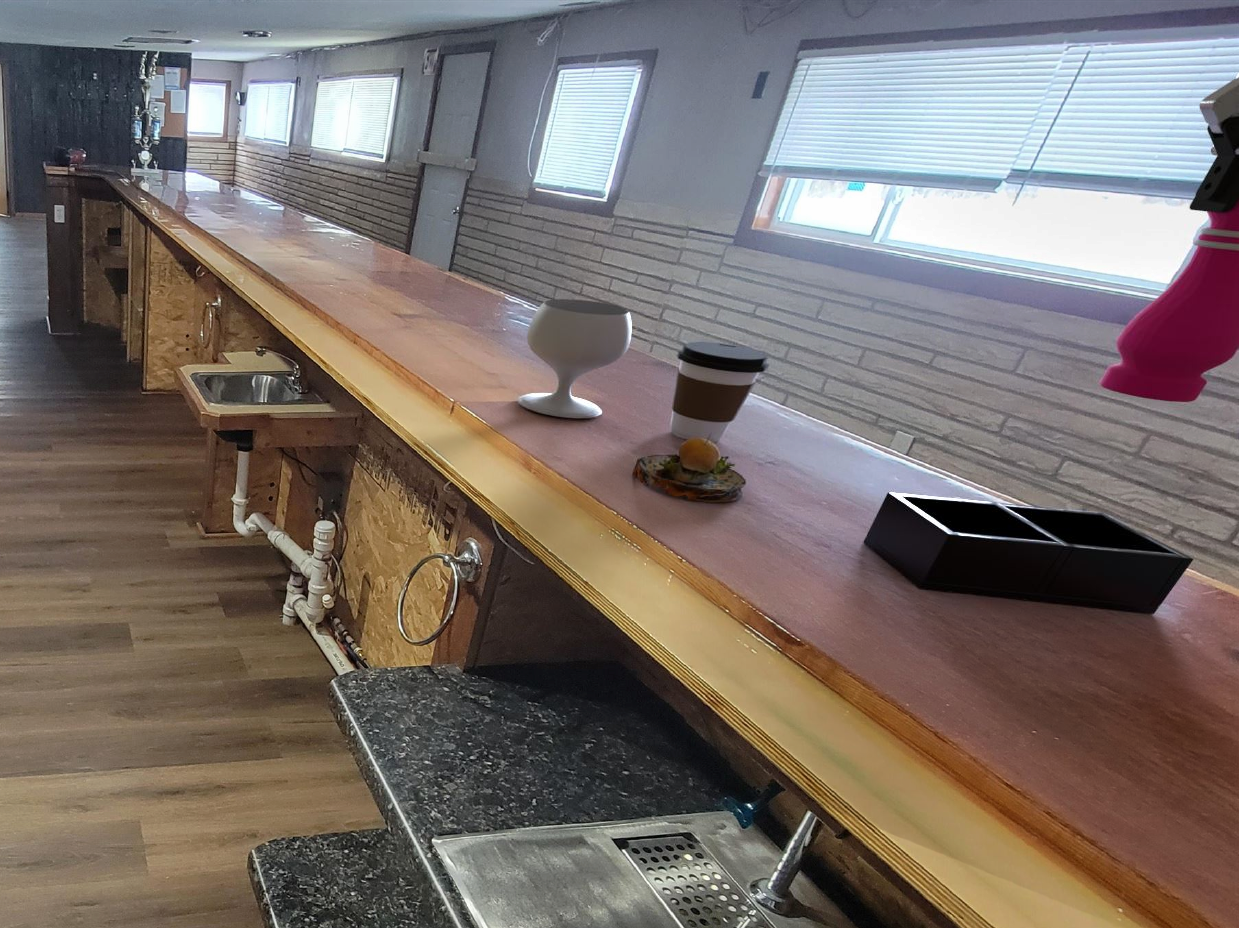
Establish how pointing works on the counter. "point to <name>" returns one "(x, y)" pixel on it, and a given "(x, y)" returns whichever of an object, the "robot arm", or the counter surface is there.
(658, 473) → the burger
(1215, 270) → the pepper mill
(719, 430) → the coffee cup
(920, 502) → the divided box
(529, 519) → the counter surface
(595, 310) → the chalice
